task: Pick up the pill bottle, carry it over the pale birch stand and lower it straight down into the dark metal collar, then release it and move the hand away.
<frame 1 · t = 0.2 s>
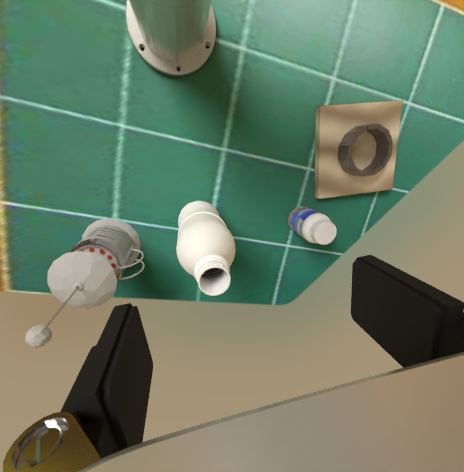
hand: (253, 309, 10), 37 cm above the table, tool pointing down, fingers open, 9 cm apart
collar: (364, 150, 45), on the stand plate, point 3 cm above the table
french press: (117, 244, 45), on the table
pill bottle: (299, 218, 50), on the table
stand plate: (354, 151, 48), on the table
water bottle: (198, 217, 46), on the table
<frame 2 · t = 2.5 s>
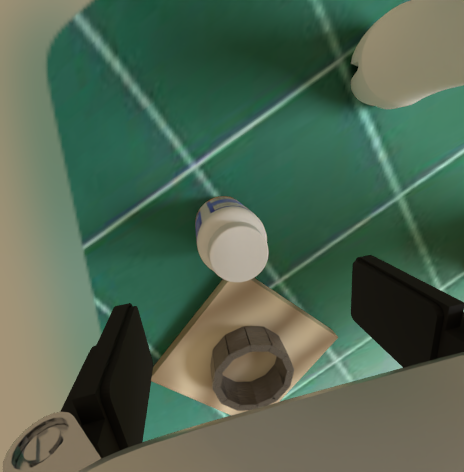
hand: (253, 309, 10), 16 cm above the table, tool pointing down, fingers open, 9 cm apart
collar: (250, 367, 28), on the stand plate, point 3 cm above the table
pill bottle: (221, 221, 26), on the table
stand plate: (245, 348, 30), on the table
water bottle: (373, 72, 24), on the table
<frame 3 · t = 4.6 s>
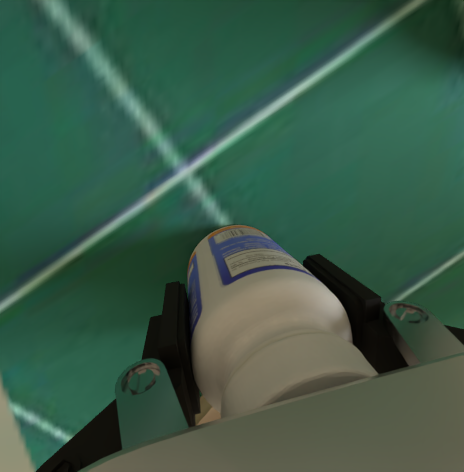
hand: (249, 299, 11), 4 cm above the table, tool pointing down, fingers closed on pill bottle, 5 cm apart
pill bottle: (233, 265, 15), on the table, touching gripper
stand plate: (266, 450, 20), on the table
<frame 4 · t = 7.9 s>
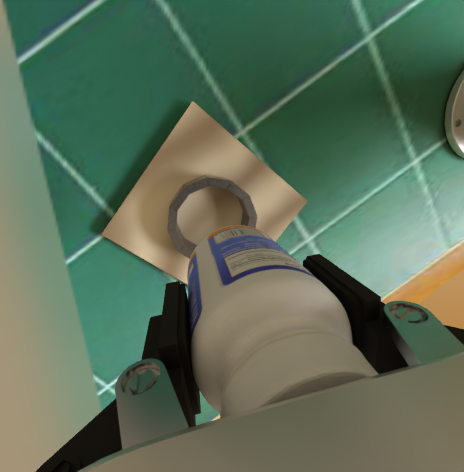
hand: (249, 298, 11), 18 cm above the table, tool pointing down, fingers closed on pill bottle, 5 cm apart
collar: (211, 220, 26), on the stand plate, point 3 cm above the table
pill bottle: (233, 265, 15), point 15 cm above the table, touching gripper
stand plate: (209, 213, 28), on the table
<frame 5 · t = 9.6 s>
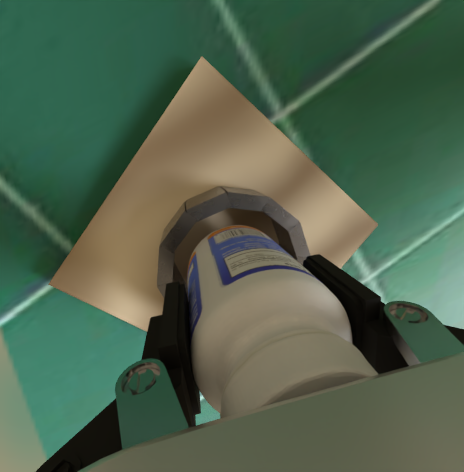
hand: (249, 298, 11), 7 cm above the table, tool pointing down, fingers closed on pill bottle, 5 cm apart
collar: (232, 260, 15), on the stand plate, point 3 cm above the table
pill bottle: (233, 265, 15), point 4 cm above the table, touching gripper
stand plate: (224, 244, 18), on the table
when the fingers open (6 cm above the table, at t = 11.1 s): pill bottle stays where it is, resting on stand plate.
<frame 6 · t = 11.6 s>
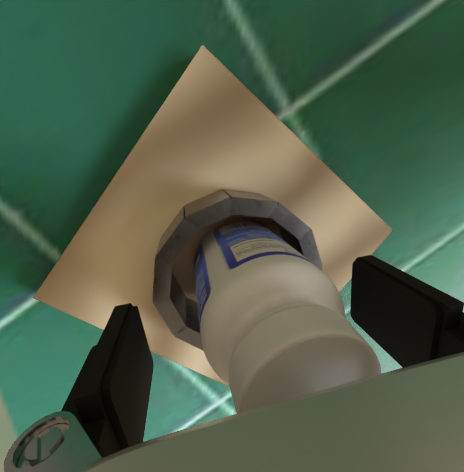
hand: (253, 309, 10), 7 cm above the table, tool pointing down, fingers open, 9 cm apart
collar: (235, 270, 14), on the stand plate, point 3 cm above the table
pill bottle: (236, 257, 16), point 1 cm above the table, touching stand plate
stand plate: (227, 252, 17), on the table
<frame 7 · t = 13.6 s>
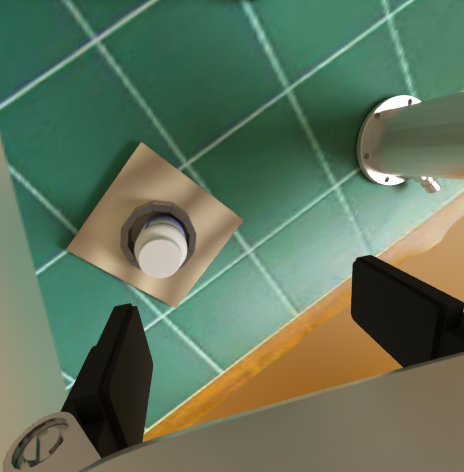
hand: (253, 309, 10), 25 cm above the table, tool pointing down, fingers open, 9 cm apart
collar: (160, 237, 31), on the stand plate, point 3 cm above the table
pill bottle: (163, 232, 33), point 1 cm above the table, touching stand plate
stand plate: (160, 230, 34), on the table
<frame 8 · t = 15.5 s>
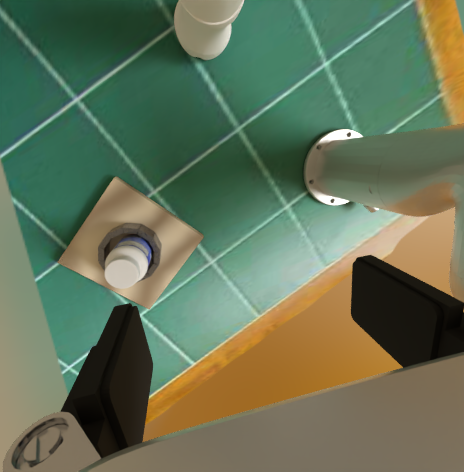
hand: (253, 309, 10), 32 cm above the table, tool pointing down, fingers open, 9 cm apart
collar: (131, 252, 38), on the stand plate, point 3 cm above the table
pill bottle: (136, 248, 40), point 1 cm above the table, touching stand plate
stand plate: (135, 246, 41), on the table
water bottle: (201, 36, 35), on the table
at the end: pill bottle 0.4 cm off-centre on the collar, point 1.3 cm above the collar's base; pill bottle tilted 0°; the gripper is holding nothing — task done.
